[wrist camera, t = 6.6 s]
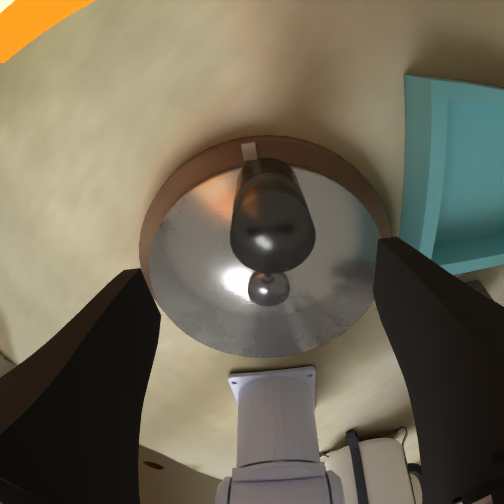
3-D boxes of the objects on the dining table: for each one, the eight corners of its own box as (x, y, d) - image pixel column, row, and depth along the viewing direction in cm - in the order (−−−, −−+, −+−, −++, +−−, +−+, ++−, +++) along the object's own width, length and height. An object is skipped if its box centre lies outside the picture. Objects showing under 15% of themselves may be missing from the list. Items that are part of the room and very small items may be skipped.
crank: (357, 341, 23) (375, 403, 18) (176, 347, 23) (164, 412, 18) (396, 154, 15) (454, 201, 10) (130, 162, 15) (79, 212, 10)
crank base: (373, 326, 24) (377, 337, 23) (182, 347, 25) (180, 359, 24) (390, 125, 15) (399, 130, 14) (112, 163, 17) (103, 171, 16)
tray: (513, 237, 19) (533, 257, 17) (396, 255, 20) (413, 282, 18) (535, 95, 13) (563, 106, 10) (403, 74, 14) (430, 79, 11)
